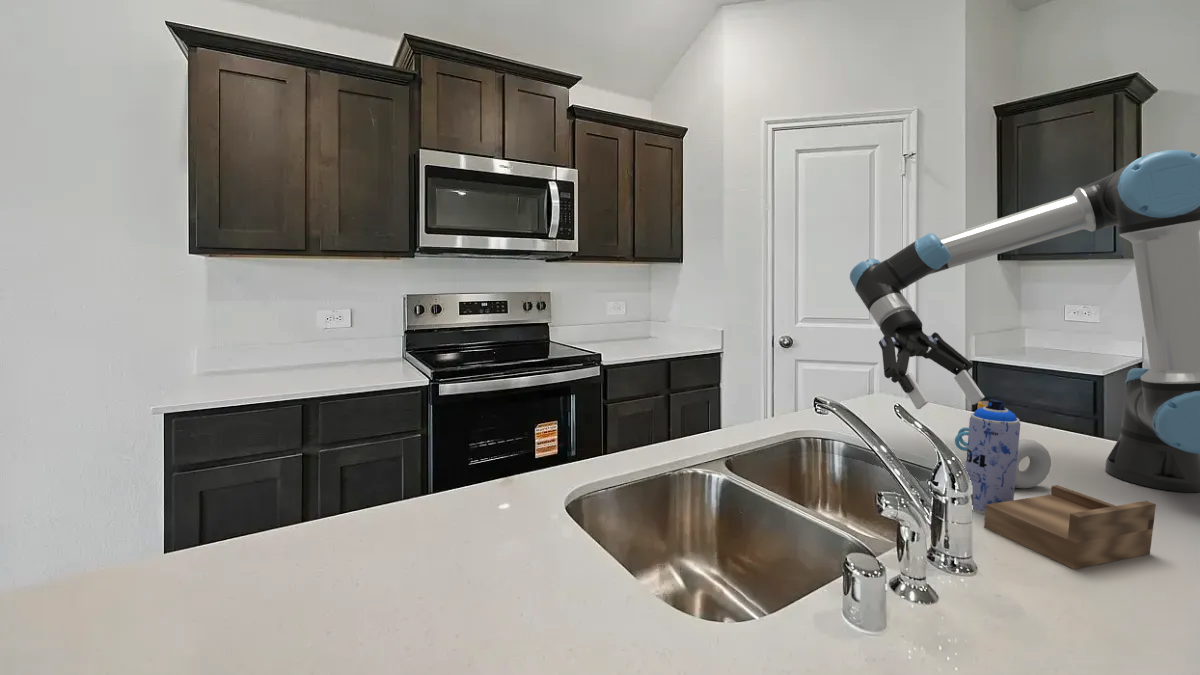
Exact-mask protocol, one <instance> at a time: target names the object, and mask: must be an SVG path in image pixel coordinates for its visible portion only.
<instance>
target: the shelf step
mask: <svg viewBox="0 0 1200 675" xmlns="http://www.w3.org/2000/svg"><path fill="white" fill-rule="evenodd" d="M1050 493H1051V494H1046V495H1039V496H1033V497H1028V498H1027V497H1026V498H1021V499H1014V500H1012V501H1006V502H999V503H993V504H986V510H985V514H984V521H983V522H984V523H983V524H984V525H983V527H984V528H985V529H986V530H987V529H988V530H990V531H991V532H993V533H996V534H998V535H1000V536H1002V537H1004V538H1006V539H1009V540H1011V541H1013V542H1015V543H1017V544H1019V545H1021V546H1023V547H1026V548H1027V549H1029V550H1032V551H1034V552H1035V553H1038V554H1040V555H1042V556H1045V557H1046V558H1049V559H1050V560H1052V561H1055V562H1057V563H1059V564H1061V565H1063V566H1066V567H1068V568H1069V569H1072V570H1077V569H1081V568H1088V567H1092V566H1096V565H1101V564H1106V563H1111V562H1116V561H1120V560H1127V559H1131V558H1135V557H1141V556H1144V555H1150V554H1151V549H1152V548H1151V547H1152V540H1153V531H1154V525H1155V524H1154V522H1155V517H1156V516H1155V514H1156V506H1157V504H1156V503H1154V502H1152V501H1148V500H1143V501H1137V502H1131V503H1125V504H1118V505H1115V504H1112V503H1110V502H1106V501H1104V500H1100V499H1099V498H1095V497H1093V496H1089V495H1086V494H1083V493H1081V492H1078V491H1075V490H1073V489H1070V488H1067V487H1064V486H1061V485H1058V484H1055V485H1051V492H1050Z"/></svg>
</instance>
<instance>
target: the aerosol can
mask: <svg viewBox="0 0 1200 675" xmlns="http://www.w3.org/2000/svg"><path fill="white" fill-rule="evenodd" d="M987 402H988V406H984V407H983V408H979V409H975V411H974V412H972V413H971V414H970V418H969V425H968V428H969V431H968V432H969V435H967V436H968V437H967V438H968V439H967V443H968V447H967V446H966V447H967V451H966V460H965V461H966V464H965V472H966V471H967V472H968V475H969V477H970V480H971V482H972V485H973V510H974V511H973V510H972V511H973V512H976V513H979V514H982V515H985V510H986V504H993V503H999V502H1006V501H1012V500H1015V499H1014V498H1015V488H1016V487H1015V478H1016V467H1017V456H1018V445H1019V440H1020V430H1021V423H1020V418H1018V417H1017V416H1016V414H1015V413H1014V412H1012V411H1011V410H1009V409H1008V408H1006V407H1004V406H1005V405H1004V404H1005V403H1004V401H1001V400H997V399H993V398H989V399H988V401H987Z"/></svg>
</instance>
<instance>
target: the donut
mask: <svg viewBox="0 0 1200 675" xmlns="http://www.w3.org/2000/svg"><path fill="white" fill-rule="evenodd" d="M1026 457H1028V458H1029V463H1028V466H1027V467H1026V468H1025V469H1022V470H1020V468H1019V466H1020V462H1021V461H1022V460H1023V459H1024V458H1026ZM1051 466H1052V460H1051V455H1050V454H1049V451H1048V450H1047V448H1046V447H1044V445H1043V444H1041V443H1039V442H1038V441H1035V440H1032V439H1027V438H1024V439H1019V445H1018V456H1017V467H1016V478H1015V488H1017V489H1029V488H1034V487H1036V486H1038V485H1040V484H1041V483H1042V482H1043V481H1044V480H1045V479H1046V478H1047V477H1048V475H1049V474H1050V471H1051Z"/></svg>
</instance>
